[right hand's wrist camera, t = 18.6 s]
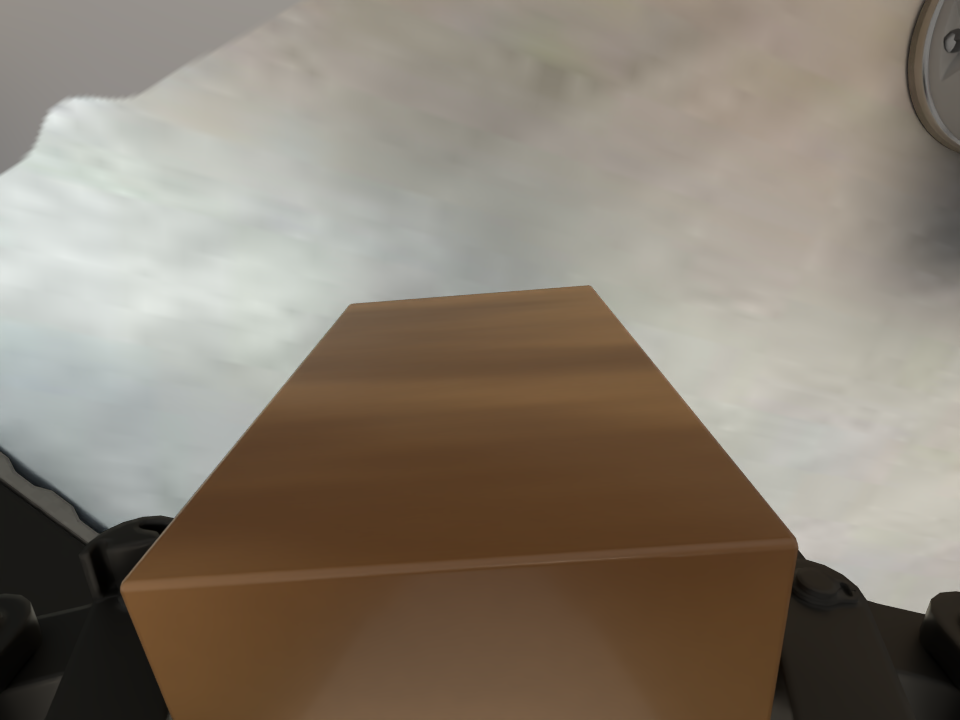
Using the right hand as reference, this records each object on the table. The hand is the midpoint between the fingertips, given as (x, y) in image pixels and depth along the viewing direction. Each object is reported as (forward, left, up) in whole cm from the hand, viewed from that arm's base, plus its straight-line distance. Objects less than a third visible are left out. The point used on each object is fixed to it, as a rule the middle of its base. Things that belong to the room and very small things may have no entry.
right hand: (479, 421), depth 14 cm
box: (+6, +6, -1) cm, 8 cm away
